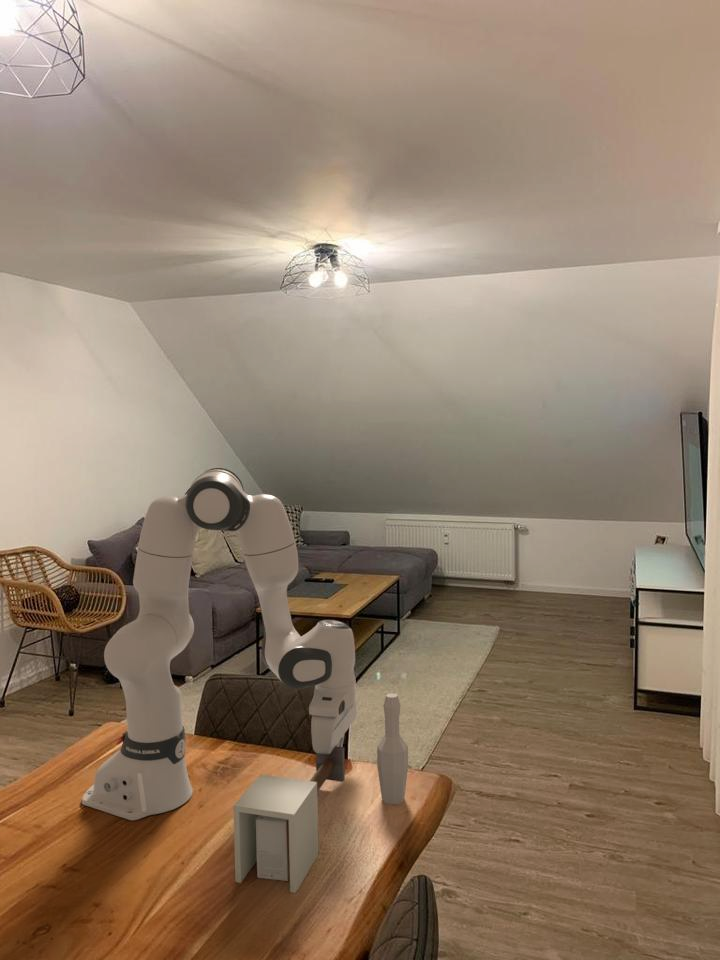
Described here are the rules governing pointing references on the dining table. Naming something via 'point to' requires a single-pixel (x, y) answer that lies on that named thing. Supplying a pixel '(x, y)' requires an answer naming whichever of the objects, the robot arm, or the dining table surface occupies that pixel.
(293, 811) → the tunnel
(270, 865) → the small box
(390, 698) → the low poly bottle
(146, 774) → the robot arm
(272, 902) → the dining table surface
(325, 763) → the push rod
